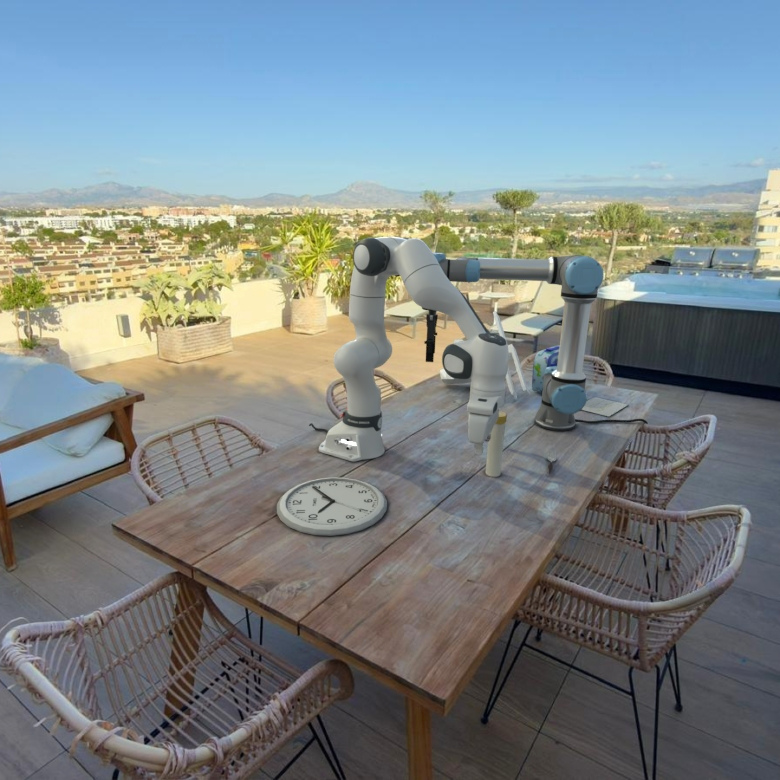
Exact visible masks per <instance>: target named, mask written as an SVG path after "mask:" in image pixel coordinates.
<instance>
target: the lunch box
mask: <svg viewBox="0 0 780 780" xmlns="http://www.w3.org/2000/svg"><path fill="white" fill-rule="evenodd" d="M559 346H560V344H559V345H553V346H550V347H546V348H545V349H542V350H539V351H538V352H537V353H536V354H535V356H534V358H533V365H532V376H531V377H532V378H531V390H532V391H533V392H537V393H542V392H543V382H544V373H545V369H546V368H547V367H553V366H557V364H558V355H559Z"/></svg>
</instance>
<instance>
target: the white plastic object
mask: <svg viewBox="0 0 780 780" xmlns="http://www.w3.org/2000/svg"><path fill="white" fill-rule="evenodd" d="M492 315H493V319H494V321H495V324H496V325H495V326H496V328H497V332H498V335H500V336H502V337H503V338H504V339H505V340H506V341H507V337H506V334H505V331H504V328H503V325H502V321H501V318H500V315H499V314H498V312H497V311H496V310H495V311H492ZM461 341H465V339H463V338H460V339H458V338H454V340H453V343H456V342H461ZM507 342H508V341H507ZM508 353H509V357H508V361H510V360H513V363H514V366H515V369H516V372H517V376H518V380H519V382H520V385H521V389H522V391H523V393H524V395H525V396H526V397H528V396H531V395H530V390H529V388H528V387H529V386H528V384H527V381H526V378H525V375H524V371H523V369H522V368H523V367H522V366H521V362H520V359H519V355H518V352H517V349H516V347H515V346H514V345H513V343H511V344H508ZM438 372H439V376H440V381H442V383H443V384H444V385H445V386H449V385H458V384H467V383H468V384H469V383H471V381H470V380H469V379H456V378H452V377H450V376H449V375H448V374H447V373H446V372H445V370H444V368H442V369H440V370H439V371H438ZM505 381H506V383H507V384H506V385H507V386H508V390H509V393H510V394H511V395H512V397H513V398H514V399H515V400H517V392H516V391H517V390H516V388H515V385H514V381H513V378H512V375H511V371H510V369H509V367H508V371H507V374H506V377H505Z"/></svg>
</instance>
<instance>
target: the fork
mask: <svg viewBox="0 0 780 780" xmlns="http://www.w3.org/2000/svg"><path fill="white" fill-rule="evenodd" d="M547 460H548V461H549V464H548V475H550V474H551V471H552V469H553V462H556V460H557V453H555V452H553V450H550V449H549V450H548V456H547Z"/></svg>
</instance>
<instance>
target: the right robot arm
mask: <svg viewBox="0 0 780 780" xmlns="http://www.w3.org/2000/svg"><path fill="white" fill-rule="evenodd" d="M432 253H433V255H434V256H435V258H436V259H437V261H438V263H439V265H440V267H441V268H442V270H443V272H444V274H445V275H446V276H447V278H448V279H449V280H450V282H451V283H453V282H457V283H468V284H470V283H477V282H479V281H480V280H495V281H497V280H499V281H500V280H501V281H526V282H527V281H531V282H546V283H547V284H548V285H557V286H561V289H560V298H561V299H562V300H563V303H564V305H563V313H562V322H561V330H560V339H559V355H558V364H557V366H553V367H547V368H546V369H545V373H544V382H543V392H542V394H541V402H540V405H539V407H538V410H537V411H536V413H535V416H534V424H535V425H536V426H537V427H539V428H542V429H544V430H549V431H556V432H567V431H572V430H574V429H575V428H576V423H582V424H601V423H635V422H643V423H644V424H646V425H648V424H649V423H648V421H647V420H646V419H644V418H634V419H600V420H584V419H576V418H575V417H576V416H575V414H576V413H579V412H580V411H582V410H581V409H582V408H583V407H584V406H585V404H586V401H588V397H587V392H586V389H585V388H586V383H587V382H586V381H587V375H586V374H585V373H584V371H583V369H584V361H585V355H586V347H587V339H588V338H587V337H588V330H589V324H590V318H591V317H590V316H591V308H592V303H593V302H594V301H596V300H597V298H598V294H599V293H598V291H599V288H601V285H602V284H603V281H604V269H603V267H602V265H601V264H600V262H599V261H597V260H596V259H595V258H594V257H592V256H587V255H581V254H574V255H573V254H572V255H565V256H551V257H549V258H548V259H545V258H544V259H543V258H542V259H541V258H540V259H539V258H501V257H500V258H497V257H496V258H495V257H494V258H492V257H466V256H460V257H457V258H455V259H451V258H449V259H448V258H447V257H446V253H444V252H432ZM421 309H422V310H423V311H428V313H426V316H425V320H426V340H424V342H423V343H424V344H425V362H426V363H434V359H435V357H434V356H435V353H436V338H437V337H436V336H438V332H437V329H436V328H437V324H438V318H439V315H438V314H437V312H438V311H435V310H431V309H426V308H423V307H421Z"/></svg>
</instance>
